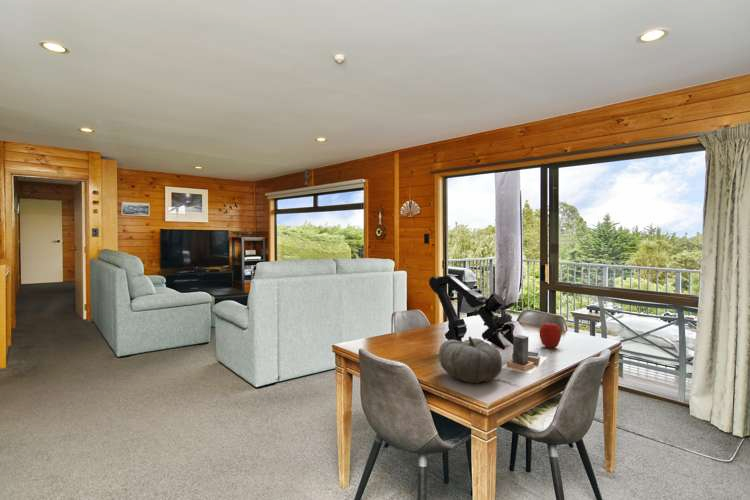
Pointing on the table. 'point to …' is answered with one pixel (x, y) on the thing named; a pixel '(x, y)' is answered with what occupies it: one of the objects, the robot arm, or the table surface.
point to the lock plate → (531, 359)
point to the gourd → (470, 360)
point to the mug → (504, 341)
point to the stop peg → (520, 349)
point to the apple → (550, 335)
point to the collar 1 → (520, 367)
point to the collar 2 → (534, 354)
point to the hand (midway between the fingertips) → (510, 347)
